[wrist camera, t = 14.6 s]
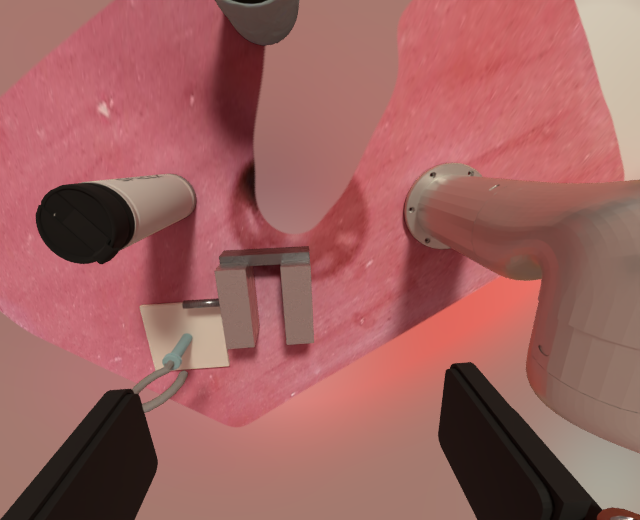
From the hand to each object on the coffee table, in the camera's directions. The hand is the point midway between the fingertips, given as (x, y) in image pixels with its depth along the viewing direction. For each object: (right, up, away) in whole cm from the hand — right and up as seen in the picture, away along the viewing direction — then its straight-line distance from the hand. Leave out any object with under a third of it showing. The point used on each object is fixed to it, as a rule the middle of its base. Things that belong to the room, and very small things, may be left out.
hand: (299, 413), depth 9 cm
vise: (-10, 0, +37) cm, 39 cm away
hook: (-21, -8, +39) cm, 45 cm away
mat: (-21, -8, +39) cm, 45 cm away
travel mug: (-20, +13, +33) cm, 40 cm away
